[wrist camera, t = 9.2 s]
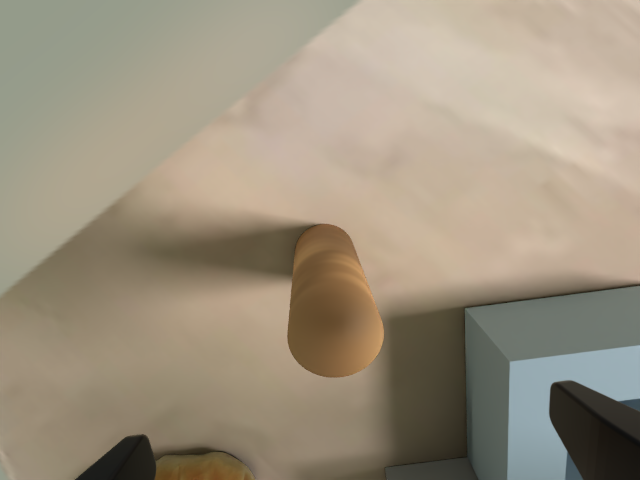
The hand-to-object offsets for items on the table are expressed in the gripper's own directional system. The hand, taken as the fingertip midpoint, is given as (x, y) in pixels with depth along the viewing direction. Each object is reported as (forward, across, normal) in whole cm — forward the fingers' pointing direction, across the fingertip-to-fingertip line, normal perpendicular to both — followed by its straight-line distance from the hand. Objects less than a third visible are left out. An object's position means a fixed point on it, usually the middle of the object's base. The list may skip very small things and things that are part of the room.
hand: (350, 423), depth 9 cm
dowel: (+12, 0, 0) cm, 12 cm away
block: (+12, -12, +9) cm, 19 cm away
